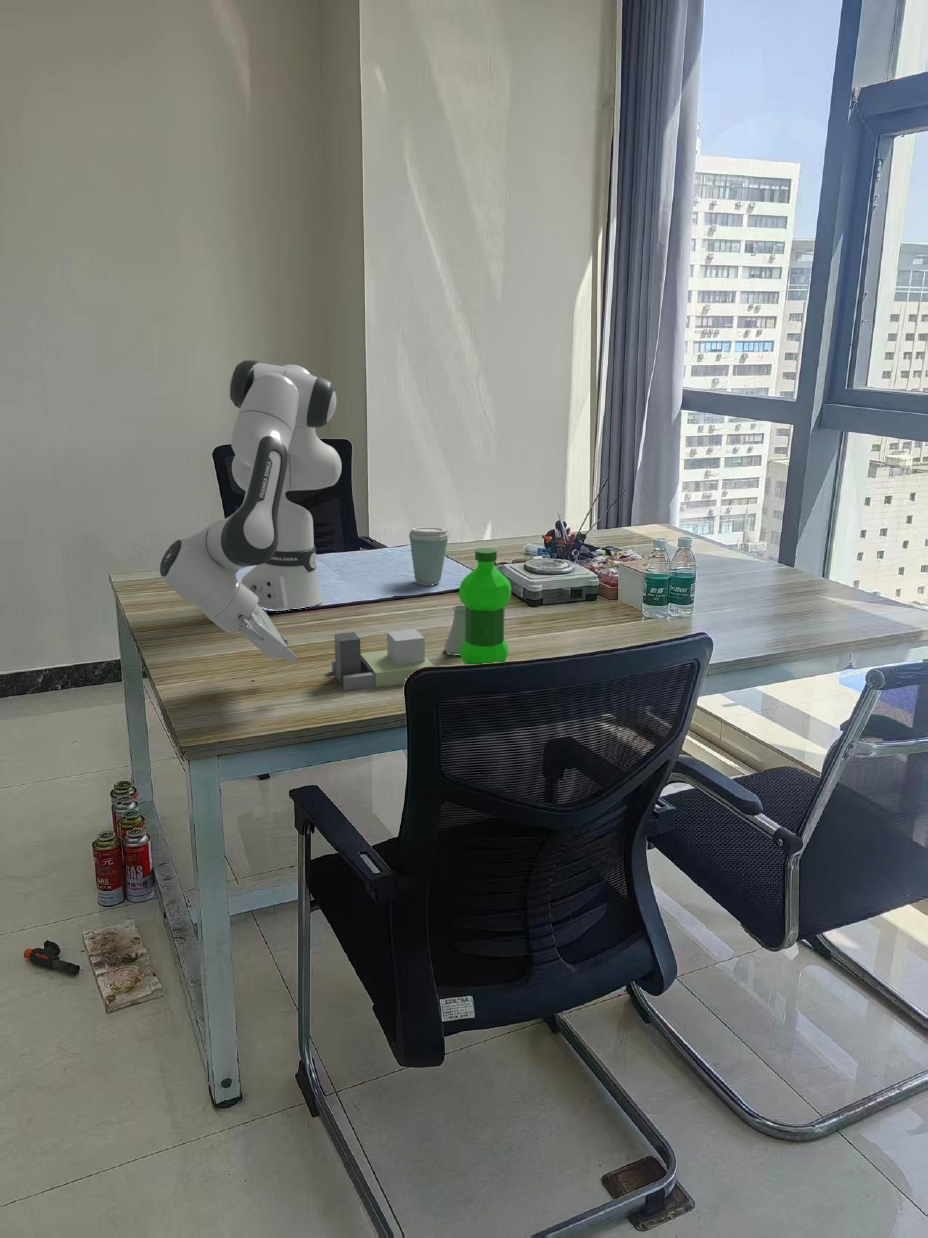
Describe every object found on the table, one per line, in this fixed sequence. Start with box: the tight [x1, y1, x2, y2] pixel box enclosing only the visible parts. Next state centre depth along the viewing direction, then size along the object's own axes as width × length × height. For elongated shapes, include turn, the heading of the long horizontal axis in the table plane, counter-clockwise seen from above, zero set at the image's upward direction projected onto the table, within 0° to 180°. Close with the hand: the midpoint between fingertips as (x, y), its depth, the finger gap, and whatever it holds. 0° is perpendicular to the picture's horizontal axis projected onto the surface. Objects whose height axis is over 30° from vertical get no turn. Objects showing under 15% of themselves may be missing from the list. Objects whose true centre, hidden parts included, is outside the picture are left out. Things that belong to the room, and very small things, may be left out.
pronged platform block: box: [331, 628, 435, 691], centre depth 196 cm, size 18×12×8 cm, turn 111°
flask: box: [443, 604, 466, 654], centre depth 210 cm, size 7×7×10 cm
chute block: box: [334, 631, 362, 686], centre depth 194 cm, size 4×4×9 cm
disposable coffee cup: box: [408, 526, 450, 586], centre depth 261 cm, size 11×11×15 cm
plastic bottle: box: [458, 547, 512, 665], centre depth 198 cm, size 10×10×25 cm
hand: (290, 652), depth 190 cm, fingers open, 8 cm apart
